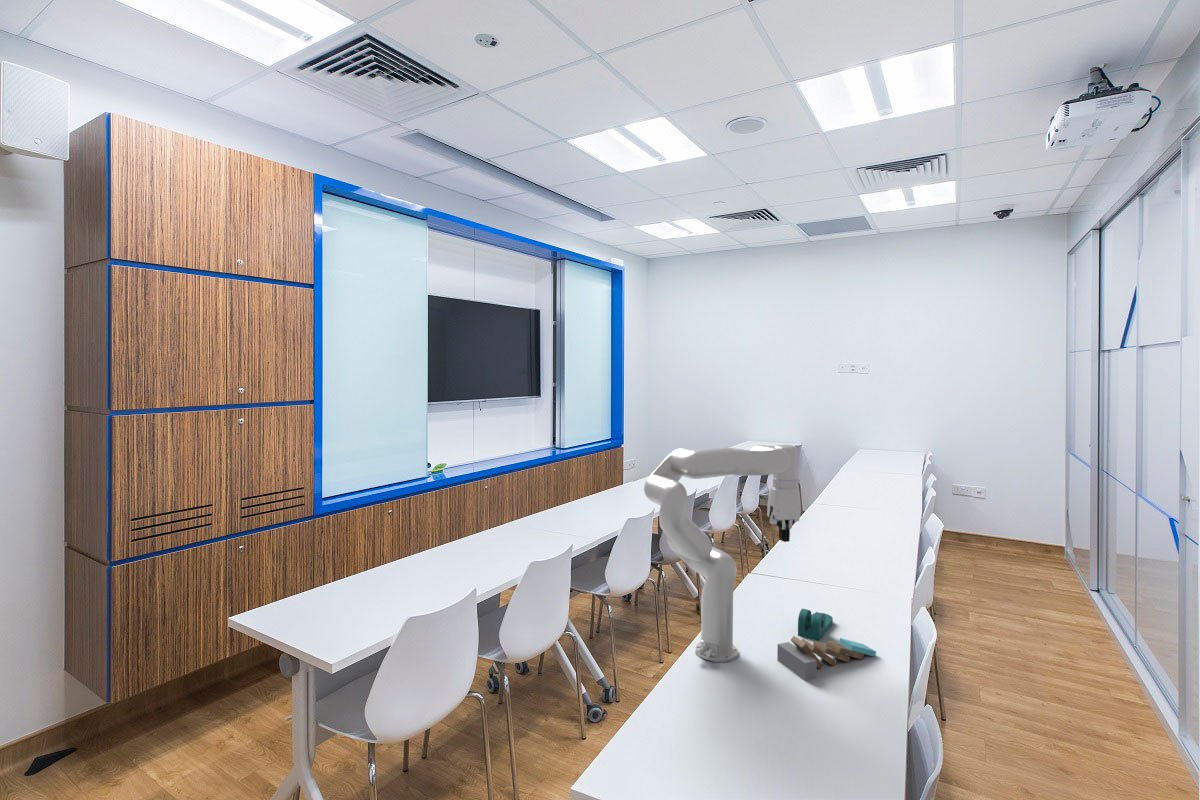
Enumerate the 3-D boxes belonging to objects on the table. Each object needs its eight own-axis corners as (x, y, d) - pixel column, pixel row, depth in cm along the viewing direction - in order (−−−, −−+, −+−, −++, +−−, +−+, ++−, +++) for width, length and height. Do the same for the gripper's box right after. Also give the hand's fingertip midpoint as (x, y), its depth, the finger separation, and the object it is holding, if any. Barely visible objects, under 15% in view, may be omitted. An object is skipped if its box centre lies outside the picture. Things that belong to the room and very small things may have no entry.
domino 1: (811, 657, 172) (793, 635, 169) (823, 664, 167) (805, 643, 164) (807, 661, 171) (790, 639, 169) (819, 669, 167) (801, 647, 164)
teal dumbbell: (818, 641, 184) (819, 617, 184) (797, 636, 188) (798, 612, 188) (835, 622, 198) (835, 600, 198) (815, 617, 202) (815, 595, 202)
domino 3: (837, 650, 175) (814, 640, 172) (850, 657, 171) (826, 647, 167) (835, 655, 175) (812, 645, 172) (848, 662, 170) (824, 652, 167)
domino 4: (851, 647, 177) (827, 640, 174) (864, 654, 172) (840, 647, 169) (850, 652, 177) (826, 645, 173) (862, 659, 172) (838, 652, 169)
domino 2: (823, 653, 173) (802, 638, 170) (836, 661, 169) (814, 645, 166) (821, 658, 173) (800, 643, 170) (833, 666, 168) (811, 650, 165)
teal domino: (863, 644, 179) (840, 638, 175) (876, 651, 174) (852, 645, 171) (862, 649, 179) (838, 643, 175) (874, 656, 174) (851, 650, 171)
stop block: (788, 658, 173) (788, 641, 173) (816, 677, 162) (816, 660, 162) (777, 660, 172) (777, 644, 172) (804, 680, 161) (805, 663, 160)
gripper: (796, 480, 190) (795, 535, 190) (758, 483, 184) (757, 539, 185) (812, 484, 183) (811, 541, 183) (773, 487, 177) (772, 546, 178)
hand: (784, 540), depth 184 cm, fingers closed
